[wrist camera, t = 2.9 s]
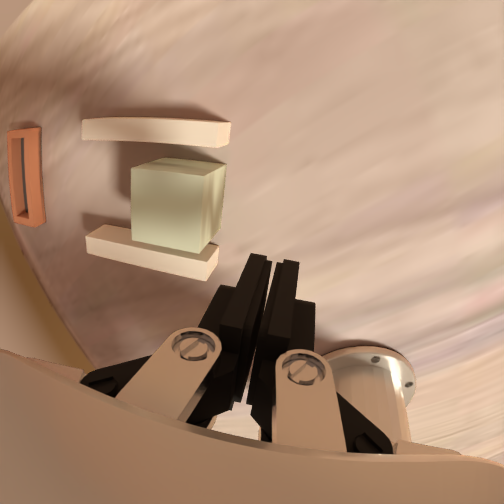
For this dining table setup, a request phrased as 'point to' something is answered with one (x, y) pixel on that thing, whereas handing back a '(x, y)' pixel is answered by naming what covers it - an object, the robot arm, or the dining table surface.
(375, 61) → the dining table surface
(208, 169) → the sage block
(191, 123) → the walled channel
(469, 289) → the dining table surface
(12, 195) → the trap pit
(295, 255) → the dining table surface
